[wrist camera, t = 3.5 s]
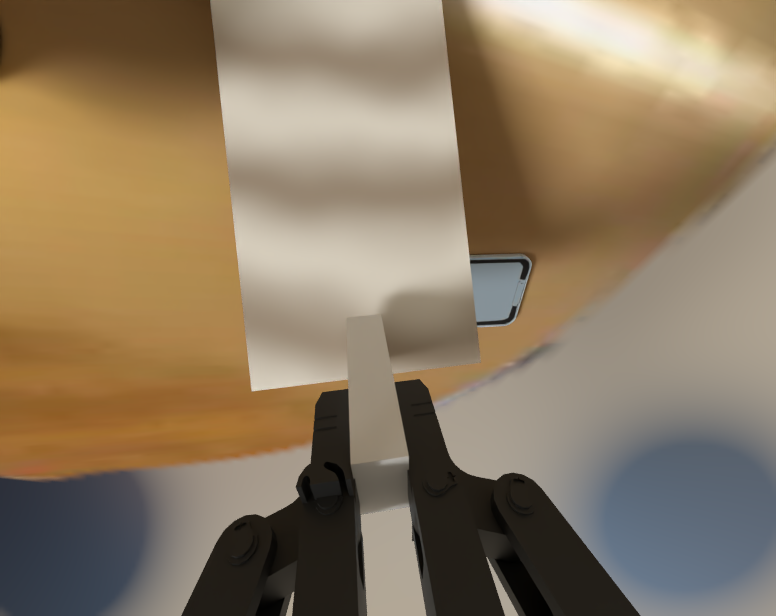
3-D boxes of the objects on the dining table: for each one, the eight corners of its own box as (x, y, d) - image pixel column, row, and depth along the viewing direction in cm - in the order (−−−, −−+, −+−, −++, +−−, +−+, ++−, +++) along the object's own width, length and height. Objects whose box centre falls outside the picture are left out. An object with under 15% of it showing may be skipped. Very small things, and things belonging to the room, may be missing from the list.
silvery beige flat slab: (223, 13, 16) (208, -20, 14) (431, 8, 17) (439, -24, 15) (262, 383, 16) (251, 391, 14) (469, 357, 17) (480, 362, 15)
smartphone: (356, 259, 25) (535, 255, 26) (356, 254, 25) (529, 251, 27) (359, 333, 29) (513, 325, 30) (358, 327, 30) (509, 320, 31)
